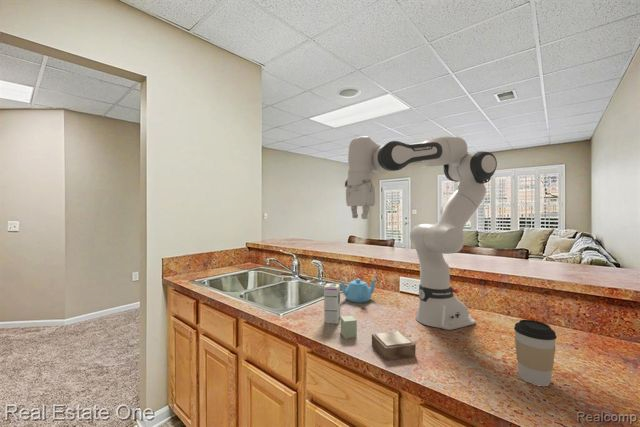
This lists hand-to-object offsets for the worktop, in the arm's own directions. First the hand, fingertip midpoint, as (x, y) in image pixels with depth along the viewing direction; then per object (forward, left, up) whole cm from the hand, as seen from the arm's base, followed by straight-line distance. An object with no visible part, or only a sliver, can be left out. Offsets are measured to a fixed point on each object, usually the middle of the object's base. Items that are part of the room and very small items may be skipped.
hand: (359, 218), depth 106 cm
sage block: (+5, +3, -42) cm, 42 cm away
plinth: (-5, +17, -42) cm, 45 cm away
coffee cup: (-34, +40, -42) cm, 67 cm away
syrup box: (+7, -11, -42) cm, 44 cm away
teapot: (-13, -33, -42) cm, 55 cm away
